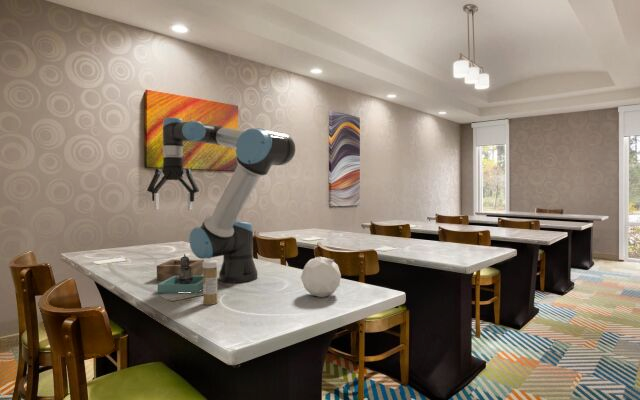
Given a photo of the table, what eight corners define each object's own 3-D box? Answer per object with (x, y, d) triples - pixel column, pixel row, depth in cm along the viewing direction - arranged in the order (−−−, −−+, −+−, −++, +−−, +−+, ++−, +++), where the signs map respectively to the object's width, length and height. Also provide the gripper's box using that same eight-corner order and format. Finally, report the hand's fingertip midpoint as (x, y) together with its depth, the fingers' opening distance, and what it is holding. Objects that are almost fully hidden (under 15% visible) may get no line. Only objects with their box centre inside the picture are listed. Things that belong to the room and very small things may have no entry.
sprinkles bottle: (204, 301, 131) (203, 259, 130) (218, 301, 131) (218, 259, 131) (201, 305, 126) (201, 262, 126) (216, 305, 126) (216, 262, 126)
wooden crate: (204, 273, 173) (204, 259, 173) (191, 281, 159) (191, 266, 159) (172, 273, 174) (172, 259, 173) (156, 281, 160) (156, 265, 160)
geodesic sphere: (356, 276, 140) (333, 244, 142) (343, 285, 127) (319, 249, 130) (325, 298, 144) (304, 266, 147) (310, 309, 131) (287, 274, 134)
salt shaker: (188, 289, 144) (187, 255, 143) (173, 288, 145) (172, 255, 145) (196, 285, 150) (196, 253, 149) (182, 284, 151) (181, 252, 150)
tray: (210, 284, 154) (210, 275, 154) (197, 293, 140) (196, 284, 140) (174, 283, 155) (174, 275, 155) (157, 293, 141) (157, 284, 141)
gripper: (206, 157, 167) (206, 209, 168) (146, 157, 168) (147, 208, 169) (200, 156, 160) (200, 210, 161) (138, 156, 160) (138, 209, 161)
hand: (173, 209), depth 165 cm, fingers open, 13 cm apart
